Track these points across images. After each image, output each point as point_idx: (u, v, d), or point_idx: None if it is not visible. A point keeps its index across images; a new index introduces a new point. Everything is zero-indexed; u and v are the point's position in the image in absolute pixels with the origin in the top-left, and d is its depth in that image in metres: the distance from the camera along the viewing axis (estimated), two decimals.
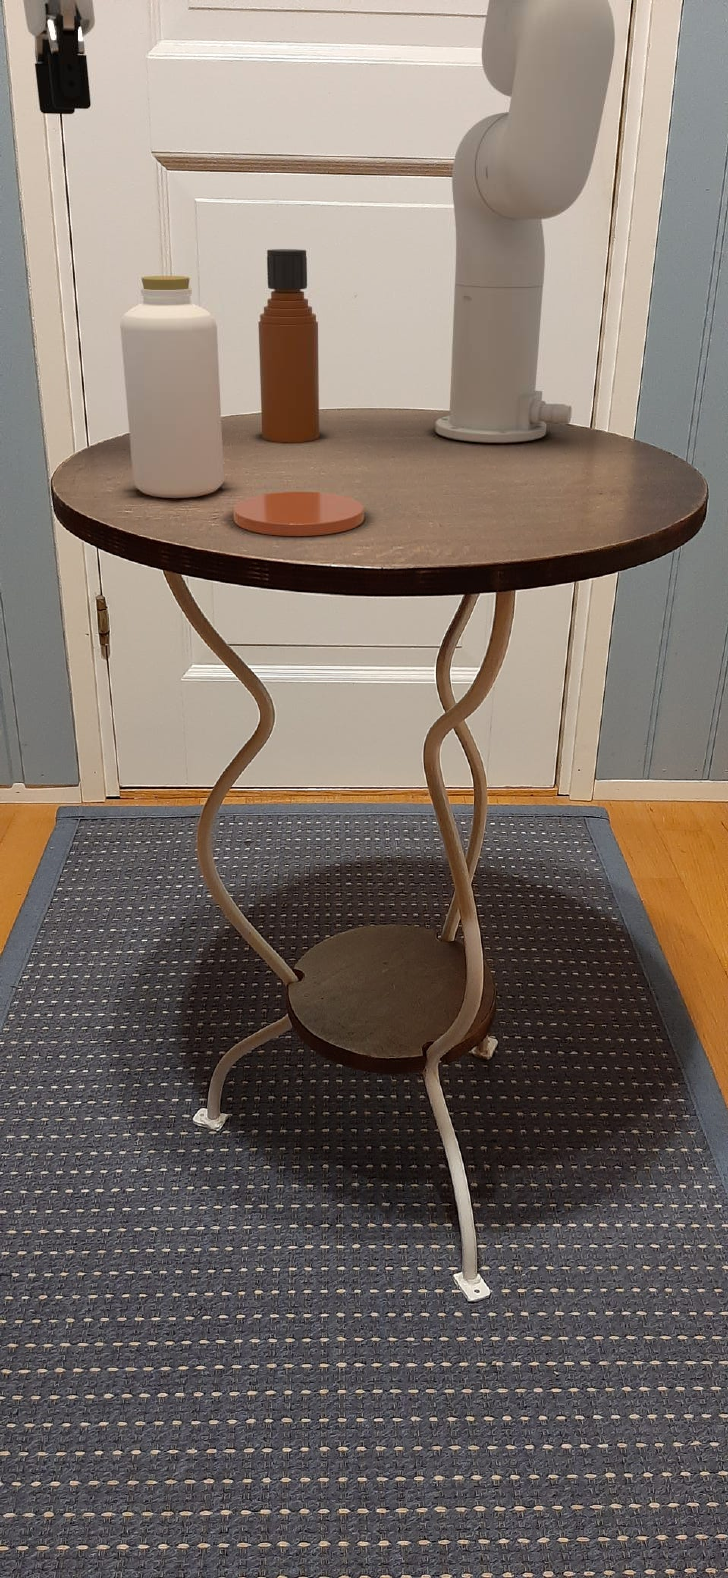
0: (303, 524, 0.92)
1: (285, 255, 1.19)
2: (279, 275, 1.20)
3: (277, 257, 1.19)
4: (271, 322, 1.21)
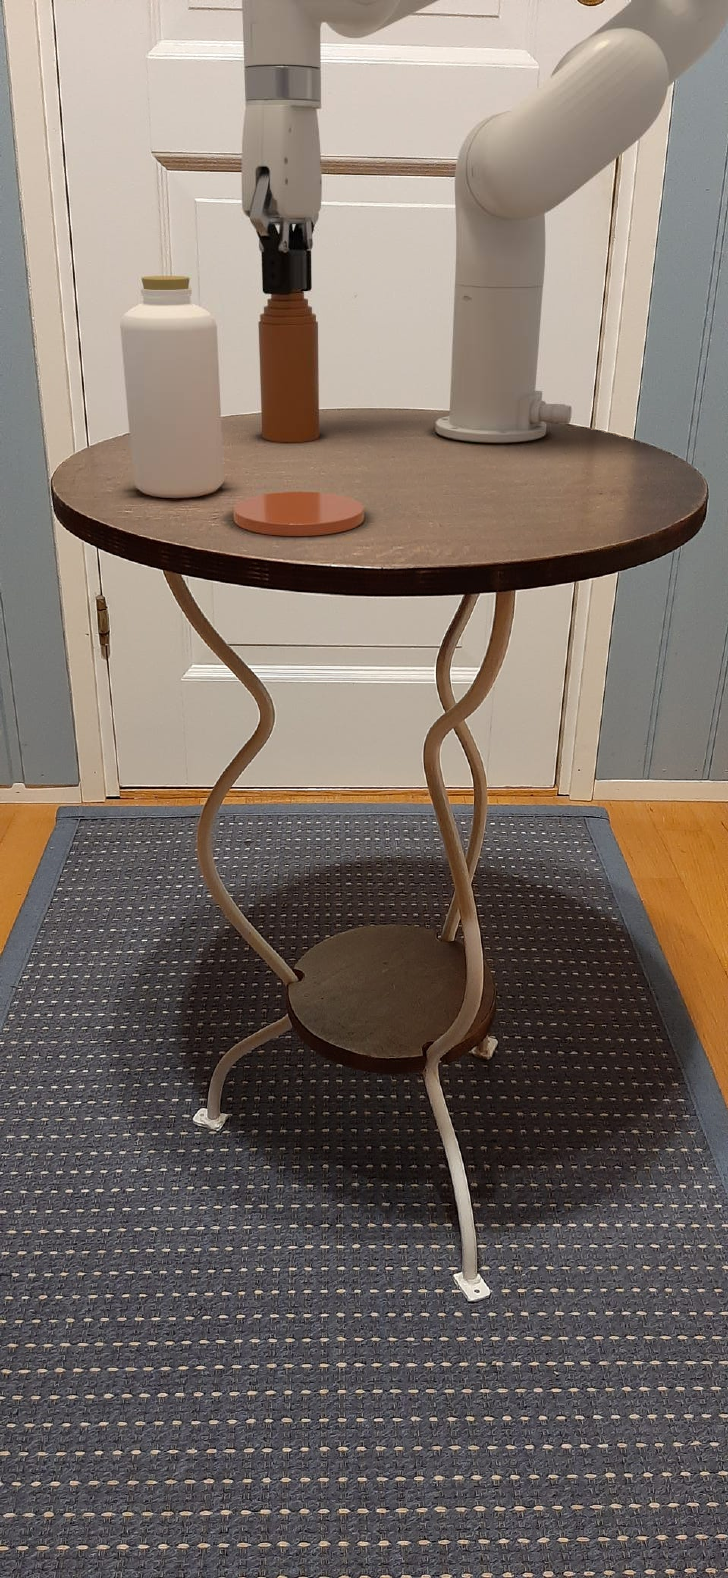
0: (303, 524, 0.92)
1: None
2: None
3: None
4: (271, 322, 1.21)
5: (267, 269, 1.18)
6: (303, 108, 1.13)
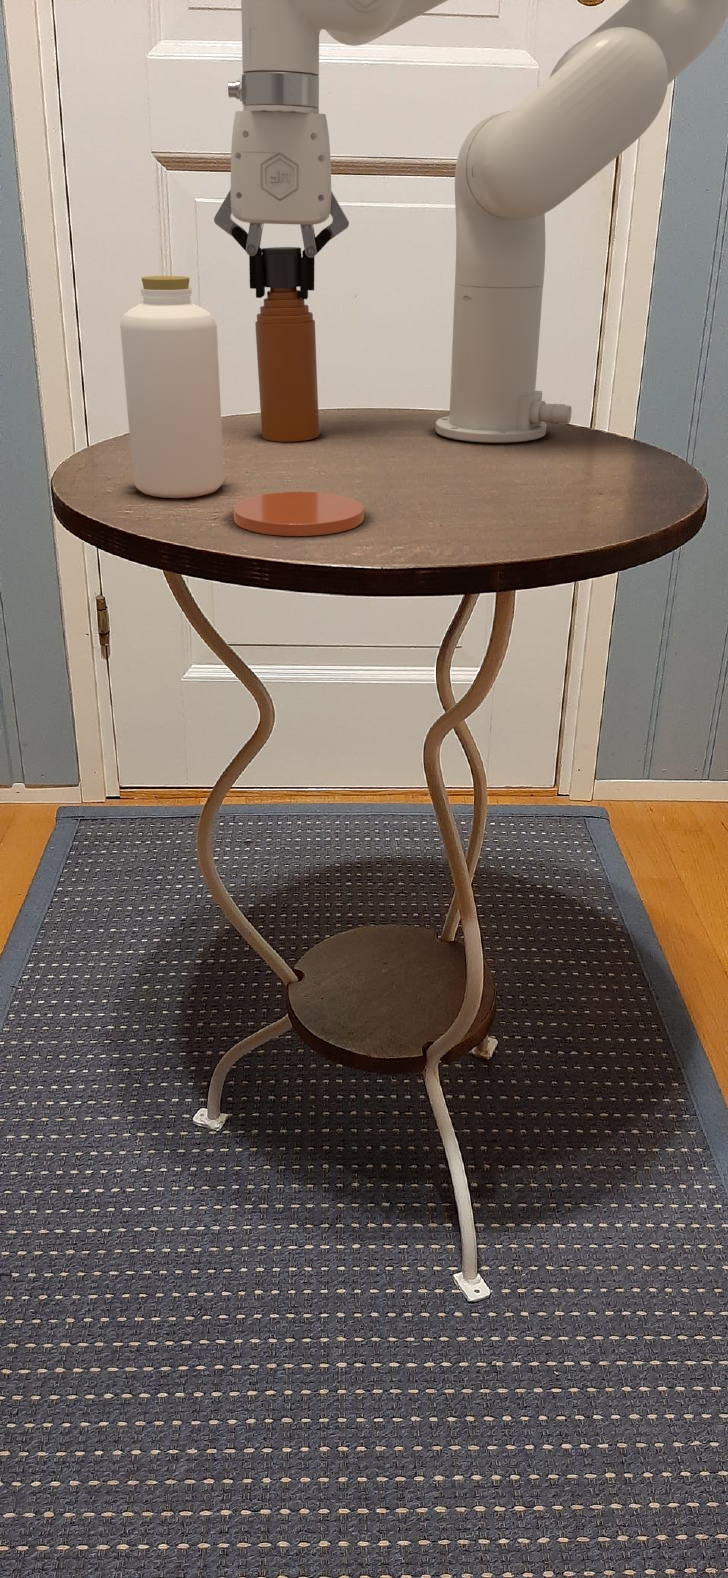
0: (303, 524, 0.92)
1: None
2: None
3: (301, 254, 1.20)
4: (268, 322, 1.21)
5: (313, 274, 1.21)
6: None
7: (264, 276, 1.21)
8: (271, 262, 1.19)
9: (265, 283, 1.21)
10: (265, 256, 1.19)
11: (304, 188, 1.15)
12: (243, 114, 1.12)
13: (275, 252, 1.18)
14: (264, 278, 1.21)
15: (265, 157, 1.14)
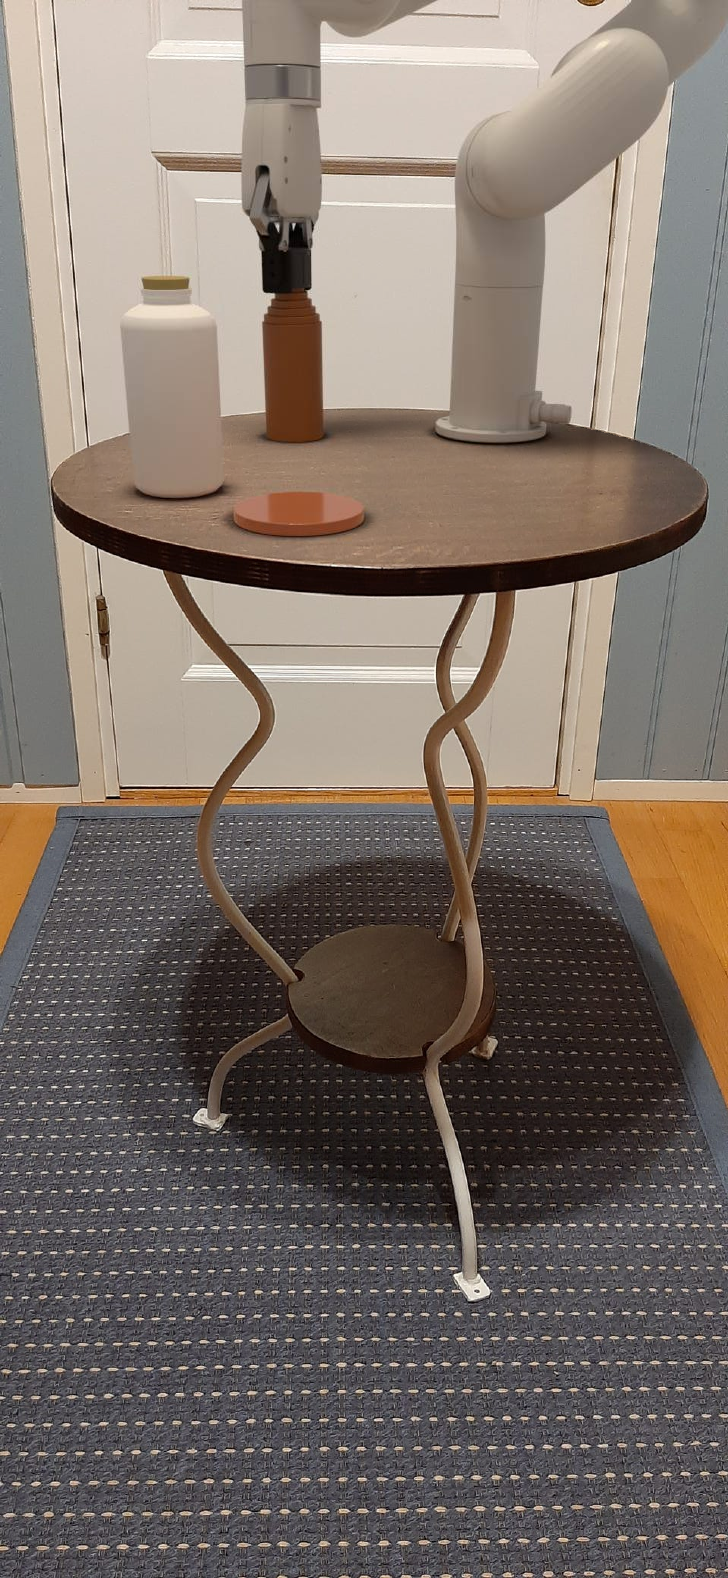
0: (303, 524, 0.92)
1: None
2: None
3: (309, 255, 1.20)
4: (275, 322, 1.21)
5: (267, 268, 1.18)
6: (303, 107, 1.13)
7: None
8: None
9: None
10: None
11: None
12: None
13: None
14: None
15: None
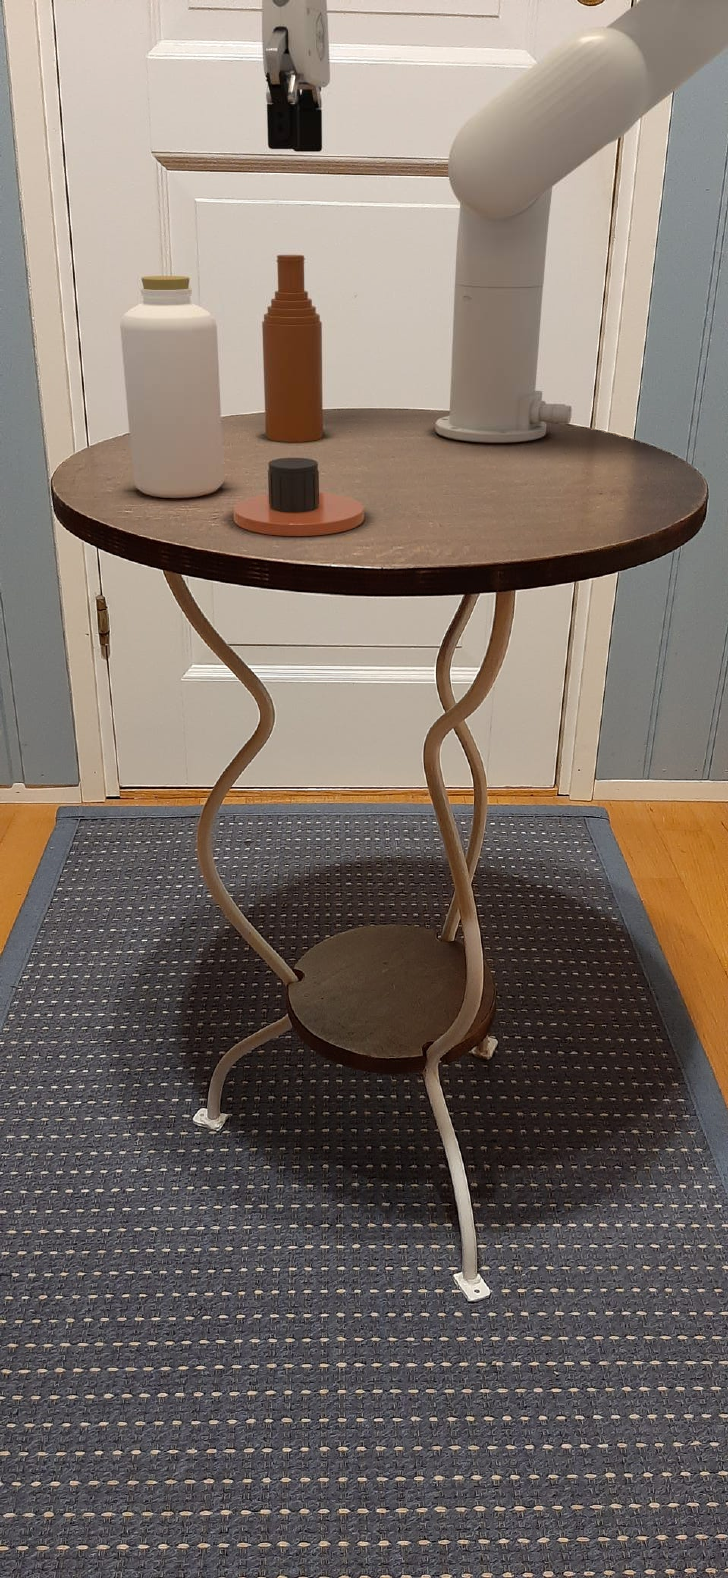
0: (303, 524, 0.92)
1: None
2: None
3: None
4: (276, 322, 1.21)
5: None
6: None
7: (284, 499, 0.95)
8: (299, 483, 0.94)
9: (286, 508, 0.95)
10: (288, 476, 0.94)
11: (326, 50, 1.20)
12: None
13: (304, 471, 0.94)
14: (283, 502, 0.95)
15: (317, 15, 1.15)
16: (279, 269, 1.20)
